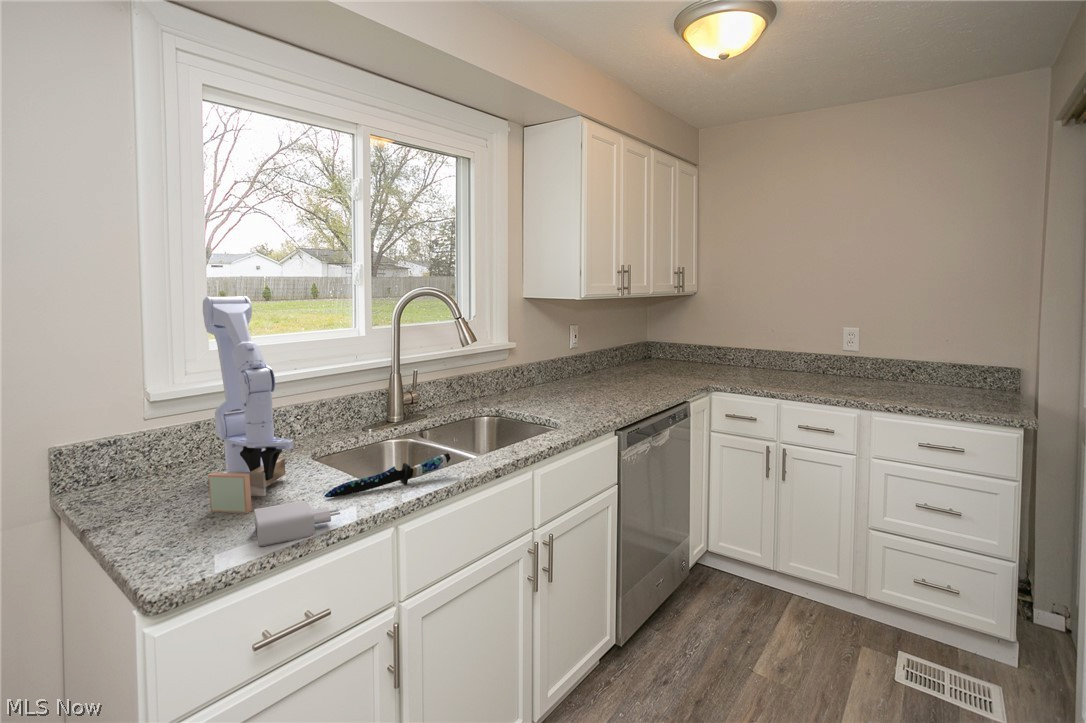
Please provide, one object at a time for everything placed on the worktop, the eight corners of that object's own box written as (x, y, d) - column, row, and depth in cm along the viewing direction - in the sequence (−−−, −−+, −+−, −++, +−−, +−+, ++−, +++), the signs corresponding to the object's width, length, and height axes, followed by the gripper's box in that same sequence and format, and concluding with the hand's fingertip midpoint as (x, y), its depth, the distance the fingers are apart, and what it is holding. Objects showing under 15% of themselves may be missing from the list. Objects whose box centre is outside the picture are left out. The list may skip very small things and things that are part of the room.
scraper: (265, 473, 142) (263, 453, 141) (296, 474, 141) (295, 454, 140) (229, 494, 128) (228, 472, 127) (264, 495, 127) (262, 473, 126)
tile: (216, 508, 123) (213, 472, 122) (251, 510, 123) (249, 473, 121) (210, 511, 122) (207, 475, 120) (246, 513, 121) (244, 476, 120)
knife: (450, 468, 146) (448, 451, 146) (454, 471, 144) (452, 454, 143) (324, 503, 131) (320, 485, 131) (326, 508, 129) (323, 489, 128)
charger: (344, 531, 113) (259, 549, 105) (335, 515, 121) (255, 530, 113) (343, 508, 112) (257, 524, 105) (334, 493, 120) (253, 507, 113)
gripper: (217, 424, 128) (222, 483, 130) (280, 426, 127) (283, 486, 129) (237, 416, 135) (241, 473, 137) (296, 418, 134) (299, 475, 136)
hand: (263, 478), depth 134 cm, fingers closed on scraper, 2 cm apart
